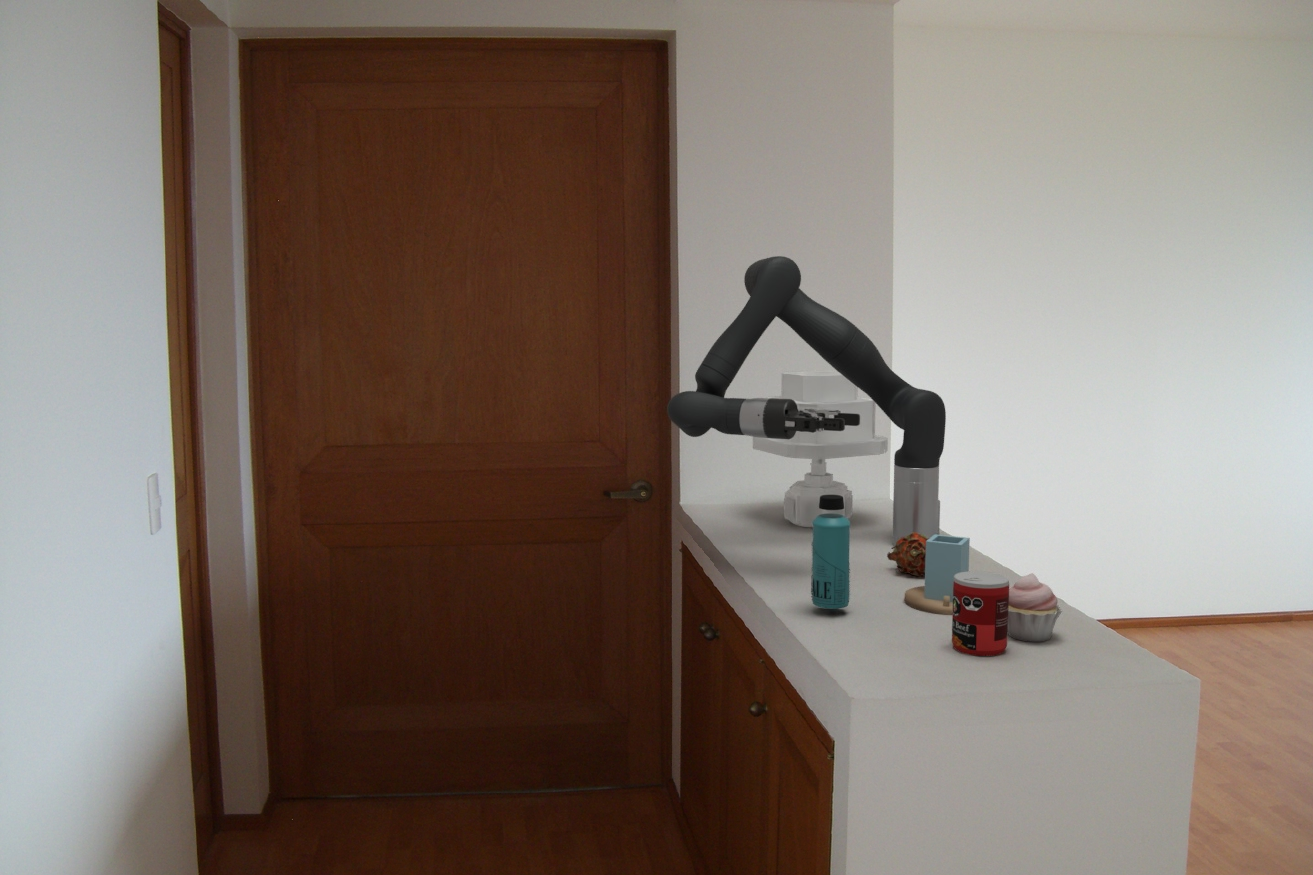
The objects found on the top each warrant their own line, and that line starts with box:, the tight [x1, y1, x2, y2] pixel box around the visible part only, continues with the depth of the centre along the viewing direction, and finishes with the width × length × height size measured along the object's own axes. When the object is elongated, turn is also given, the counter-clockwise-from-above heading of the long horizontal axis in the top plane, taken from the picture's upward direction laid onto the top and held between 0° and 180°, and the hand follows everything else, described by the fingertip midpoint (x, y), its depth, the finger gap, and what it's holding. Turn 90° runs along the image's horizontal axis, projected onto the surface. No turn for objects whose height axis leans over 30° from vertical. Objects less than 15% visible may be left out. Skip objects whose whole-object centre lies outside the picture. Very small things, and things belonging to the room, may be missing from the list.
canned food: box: [951, 570, 1010, 657], centre depth 160 cm, size 8×8×11 cm
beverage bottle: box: [810, 495, 851, 610], centre depth 179 cm, size 6×7×20 cm
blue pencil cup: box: [924, 534, 971, 602], centre depth 184 cm, size 6×6×10 cm
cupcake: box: [1007, 572, 1063, 643], centre depth 166 cm, size 9×9×10 cm
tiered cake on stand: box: [752, 370, 889, 528], centre depth 249 cm, size 27×27×35 cm
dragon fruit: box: [886, 532, 929, 577], centre depth 205 cm, size 8×8×12 cm
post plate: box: [904, 585, 953, 616], centre depth 184 cm, size 14×14×8 cm
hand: (851, 422), depth 194 cm, fingers open, 8 cm apart
